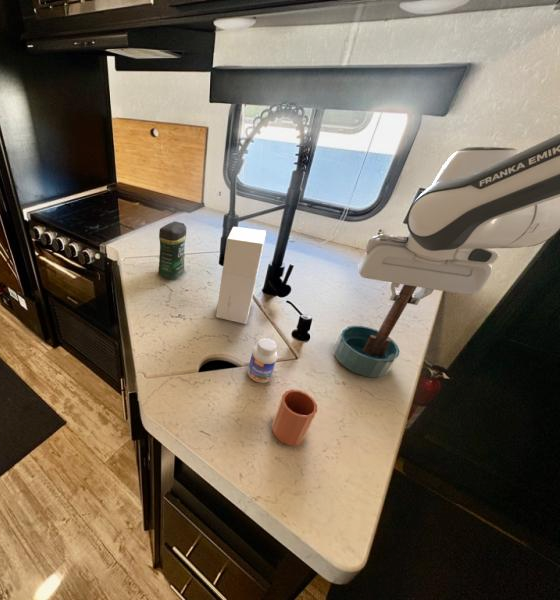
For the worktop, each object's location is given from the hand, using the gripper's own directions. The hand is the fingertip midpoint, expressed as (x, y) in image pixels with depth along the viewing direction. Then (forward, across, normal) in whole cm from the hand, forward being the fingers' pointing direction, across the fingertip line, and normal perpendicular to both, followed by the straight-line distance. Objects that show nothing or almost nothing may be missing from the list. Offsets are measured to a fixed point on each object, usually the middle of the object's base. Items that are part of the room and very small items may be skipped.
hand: (401, 301), depth 66 cm
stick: (+16, 0, 0) cm, 16 cm away
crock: (+19, -18, -26) cm, 37 cm away
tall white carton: (+19, -35, +9) cm, 40 cm away
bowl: (+19, -2, 0) cm, 19 cm away
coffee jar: (+19, -60, +24) cm, 67 cm away
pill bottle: (+19, -25, -13) cm, 34 cm away
